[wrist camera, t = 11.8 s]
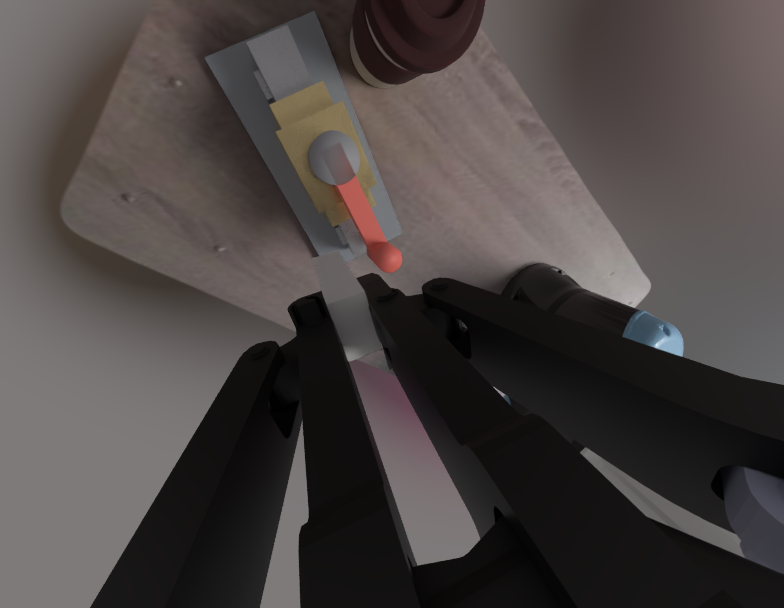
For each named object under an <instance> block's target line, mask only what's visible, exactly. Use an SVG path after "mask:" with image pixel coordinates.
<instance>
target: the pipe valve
mask: <svg viewBox="0 0 784 608" xmlns="http://www.w3.org/2000/svg"><path fill="white" fill-rule="evenodd" d="M246 44H247V47H248V50H249V53H250V57H251V59H252V61H253V63H254V65H255V67H256V69H257V71H255V72H253V73H254V76H255V78H256V80H257V82H258V84H259V86H260V88H261V90H262V92H263V93H264V95H265V97H266V99H267V101H268V103H269V102H271V101H273V102H274V103H272V104H270V105H269V106H270V110H271V114H272V117H273V118H274V120H275V122H276V124H277V126H278V128H279V130H278V131H276V136H277V139H278V141H279V143H280V145H281V147H282V149H283V151H284V152H285V154H286V156H287V158H288V160H289V162H290V164H291V165H292V167H293V169H294V171H295V173H296V175H297V177H298V178H299V180H300V182H301V184H302V186H303V188H304V190H305V191H306V193H307V195H308V197H309V199H310V201H311V202H312V204H313V206H314V208H315V209H316V210H317V211H318V213H321V212H323V213H324V215H325V217H326V219H327V221H328V222H329V223H330V224H331V225H332V227H334V229H335V231H336V233H337V235H338V237H339V239H340V241H341V243H342V244H343V245H345V244H347V246H348V248H349V250H350V251H351V253H352V254H353V255H354V256H355V257H356V258H357V257H359V256H361V255H362V254H364V253H366V248H367V247H366V246H365V244H364V242H363V240H362V238H361V236H360V234H359V232H358V230H357V228H356V226H355V224H354V222H353V221H352V219H351V217H350V215H349V213H348V211H347V209H346V207H345V205H344V203H343V201H342V199H341V197H340V196H339V194H338V192H337V190H336V188H335V186H334V185H331V184H328V183H325V182H322V181H321V180H319V179H318V178H317V177H316V176H315V175H314V174H313V172H312V171H311V169H310V166H309V163H308V151H309V148H310V145H311V144H312V142H313V141H314V140H315V139H316V138H317V136H319V135H320V134H321V133H323V132H325V131H329V130H336V131H340V132H343V133H345V134H346V135H348V136H349V137H350V138H351V139H352V140H353V141H354V143H355V145H356V146H357V149H358V152H359V157H360V164H359V169H358V171H357V174H356V177H357V179H358V181H359V183H360V185H361V188H362V190H363V192H364V194H365V196H366V198H367V200H368V202H369V205H370V207H371V208H372V207H374V206H376V203H375V201H374V199H373V196H372V194H371V192H370V189H369V188H371V187H373V186H375V185H377V182H376V180H375V178H374V175H373V173H372V170H371V168H370V165H369V163H368V160H367V158H366V155H365V153H364V151H363V148H362V146H361V143H360V141H359V138H358V136H357V133H356V131H355V128H354V126H353V124H352V121H351V119H350V116H349V114H348V111H347V109H346V106H345V104H344V101H341V102H339V103H337V104H333V102H332V100H331V97H330V95H329V93H328V90H327V88H326V86H325V83H324V81H321V82H319V83H316V84H313V82H312V80H311V77H310V75H309V73H308V71H307V68H306V66H305V64H304V61H303V59H302V57H301V55H300V52H299V50H298V48H297V46H296V43H295V41H294V39H293V37H292V34H291V32H290V30H289V27H288V25H286V26H283V27H281V28H279V29H276V30H274V31H271V32H269V33H267V34H264V35H262V36H260V37H257V38H255V39H253V40H250V41H248V42H246Z"/></svg>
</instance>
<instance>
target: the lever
mask: <svg viewBox="0 0 784 608" xmlns="http://www.w3.org/2000/svg"><path fill="white" fill-rule="evenodd" d="M308 163H309V166H310V169H311V171H312V172H313V174H314V175H315V176H316V177H317V178H318V179H319V180H321V181H322V182H325V183H328V184H331V185H334V186H335V188H336V190H337V192H338V194H339V196H340V197H341V199H342V201H343V203H344V205H345V207H346V209H347V211H348V213H349V215H350V217H351V219H352V221H353V222H354V224H355V226H356V228H357V230H358V232H359V234H360V236H361V238H362V240H363V242H364V244H365V246H366V247H367V248H366V252H367V255H368V257H369V258H370V259H371V260H372V261H373V262H374V263H375V264H376V265H377V266H378V267H379V268H380V269H381V270H382V271H384V272H387V273H391V272H394V271H396V270H397V269H398V268H399V267H400V266H401V263H402V255H401V252H400V251H399V250H398V249H396V248H395V247H394V246H392V245H391V244H389V243H388V242H387V240H386V238H385V236H384V234H383V232H382V230H381V228H380V226H379V224H378V221H377V219H376V217H375V215H374V213H373V211H372V209H371V207H370V205H369V202H368V200H367V198H366V196H365V194H364V192H363V190H362V188H361V185H360V183H359V181H358V179H357V177H356V174H357V171H358V169H359V164H360V157H359V152H358V149H357V146H356V145H355V143H354V141H353V140H352V139H351V138H350V137H349V136H348V135H346V134H345V133H343V132H340V131H336V130H329V131H325V132H323V133H321V134H320V135H319V136H317V138H316V139H315V140H314V141H313V142H312V144H311V145H310V148H309V151H308Z"/></svg>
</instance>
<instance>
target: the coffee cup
mask: <svg viewBox="0 0 784 608" xmlns="http://www.w3.org/2000/svg"><path fill="white" fill-rule="evenodd" d="M484 6H485V0H357V2H356V6H355V10H354V14H353V23H352V29H351V33H350V52H351V57H352V60H353V63H354V65H355V68H356V70H357V71H358V73H359V74H360V76H361V77H362V78H363V79H364V80H365V81H366V82H367V83H369V84H370V85H372V86H374V87H377V88H390V87H393V86H395V85H398V84H403V83H406V82H408V81H410V80H412V79H414V78H416V77H418V76H420V75H422V74H426V73H433V72H437V71H440V70H442V69H444V68H446V67H447V66H449V65H450V64H452V63H453V62H455V61H456V60H457V59H459V58H460V57H461V56H462V55H463V54H464V52H465V51H466V50H467V49H468V47H469V46H470V44H471V43H472V41H473V40H474V38H475V36H476V34H477V31H478V29H479V26H480V23H481V20H482V16H483V11H484Z"/></svg>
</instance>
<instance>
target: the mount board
mask: <svg viewBox="0 0 784 608" xmlns="http://www.w3.org/2000/svg"><path fill="white" fill-rule="evenodd" d="M286 25H288V27H289V30H290V32H291V34H292V37H293V39H294V41H295V43H296V46H297V48H298V50H299V52H300V55H301V57H302V59H303V61H304V64H305V66H306V68H307V71H308V73H309V75H310V77H311V80H312V82H313V84H316V83H319V82H321V81H324V83H325V86H326V88H327V90H328V93H329V95H330V97H331V100H332V102H333V104H337V103H339V102H341V101H344V104H345V106H346V109H347V111H348V114H349V116H350V119H351V121H352V124H353V126H354V128H355V131H356V133H357V136H358V138H359V141H360V143H361V146H362V148H363V151H364V153H365V155H366V158H367V160H368V163H369V165H370V168H371V170H372V173H373V175H374V178H375V180H376V182H377V185H375V186H373V187H371V188H369V189H370V192H371V194H372V196H373V199H374V201H375V203H376V206H374V207H372V208H371V209H372V211H373V213H374V215H375V217H376V219H377V221H378V224H379V226H380V228H381V230H382V232H383V234H384V236H385V238H386V240H387V241H389V240H391V239H393V238H395V237H396V236H398V235H400V234H402V233H403V232H402V229H401V227H400V224H399V222H398V219H397V217H396V214H395V212H394V209H393V207H392V204H391V202H390V199H389V197H388V194H387V192H386V189H385V187H384V184H383V182H382V179H381V177H380V174H379V171H378V169H377V166H376V164H375V161H374V159H373V156H372V154H371V151H370V149H369V146H368V144H367V141H366V139H365V136H364V134H363V131H362V129H361V126H360V124H359V121H358V119H357V116H356V114H355V111H354V108H353V106H352V103H351V101H350V98H349V96H348V93H347V91H346V88H345V86H344V83H343V81H342V78H341V76H340V73H339V71H338V68H337V66H336V63H335V61H334V58H333V56H332V53H331V50H330V48H329V45H328V43H327V40H326V38H325V35H324V33H323V30H322V28H321V25H320V23H319V20H318V18H317V15H316V13H315V11H312V12H310V13H308V14H305V15H303V16H300V17H298V18H296V19H293V20H291V21H289V22H286V23H284V24H282V25H279V26H277V27H275V28H272V29H270V30H268V31H265V32H263V33H261V34H258V35H256V36H253V37H251V38H249V39H246V40H244V41H242V42H239V43H237V44H235V45H232V46H230V47H228V48H225V49H223V50H221V51H218V52H216V53H214V54H211V55H209V56H206V57H204V58H205V60H206V61H207V63H208V65H209V67H210V68H211V70H212V72H213V74H214V75H215V77H216V79H217V80H218V82H219V84H220V86H221V87H222V89H223V91H224V93H225V94H226V96H227V98H228V99H229V101H230V103H231V105H232V106H233V108H234V110H235V111H236V113H237V115H238V117H239V118H240V120H241V122H242V124H243V125H244V127H245V129H246V130H247V132H248V134H249V136H250V137H251V139H252V141H253V143H254V144H255V146H256V148H257V149H258V151H259V153H260V155H261V156H262V158H263V160H264V161H265V163H266V165H267V167H268V168H269V170H270V172H271V174H272V175H273V177H274V179H275V180H276V182H277V184H278V186H279V187H280V189H281V191H282V193H283V194H284V196H285V198H286V199H287V201H288V203H289V205H290V206H291V208H292V210H293V211H294V213H295V215H296V217H297V218H298V220H299V222H300V224H301V225H302V227H303V229H304V230H305V232H306V234H307V236H308V237H309V239H310V241H311V243H312V244H313V246H314V248H315V249H316V251H317V253H318V255H319V256H321V255H324V254H327V253H330V252H333V251H337V250H338V252H339V253H340V255H341V256H342V258H343V259H344V261H345V262H346V263H347V262H349V261H351V260H353V259H355V258H356V257H355V256H354V255H353V254H352V253H351V251H350V250H349V248H348V246H347V244H345V245H343V244H342V243H341V241H340V239H339V237H338V235H337V233H336V231H335V229H334V227H332V225H331V224H330V223H329V222H328V221H327V219H326V217H325V215H324V213H323V212H321V213H318V211H317V210H316V209H315V208H314V206H313V204H312V202H311V201H310V199H309V197H308V195H307V193H306V191H305V190H304V188H303V186H302V184H301V182H300V180H299V178H298V177H297V175H296V173H295V171H294V169H293V167H292V165H291V164H290V162H289V160H288V158H287V156H286V154H285V152H284V151H283V149H282V147H281V145H280V143H279V141H278V139H277V136H276V131H278V130H279V128H278V126H277V124H276V122H275V120H274V118H273V117H272V114H271V110H270V106H269V105H270V104H272V103H274V102H273V101H271V102H269V103H268V101H267V99H266V97H265V95H264V93H263V92H262V90H261V88H260V86H259V84H258V82H257V80H256V78H255V76H254V73H253V72H255V71H257V69H256V67H255V65H254V63H253V61H252V59H251V57H250V53H249V50H248V47H247V44H246V42H248V41H250V40H253V39H255V38H257V37H260V36H262V35H264V34H267V33H269V32H271V31H274V30H276V29H279V28H281V27H283V26H286Z"/></svg>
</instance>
